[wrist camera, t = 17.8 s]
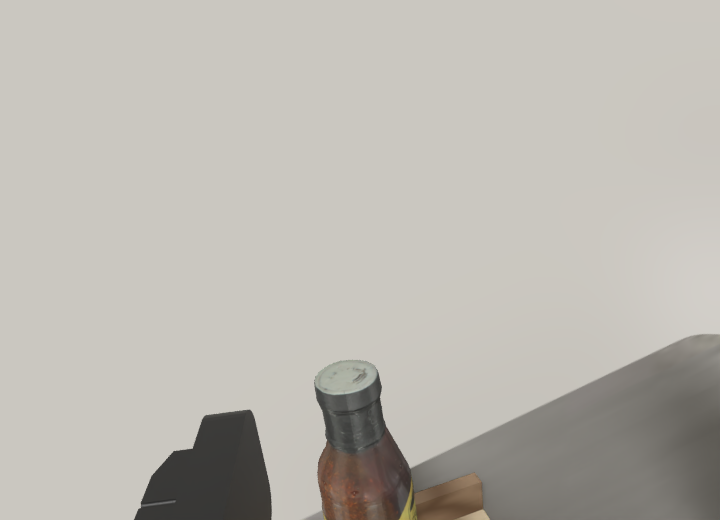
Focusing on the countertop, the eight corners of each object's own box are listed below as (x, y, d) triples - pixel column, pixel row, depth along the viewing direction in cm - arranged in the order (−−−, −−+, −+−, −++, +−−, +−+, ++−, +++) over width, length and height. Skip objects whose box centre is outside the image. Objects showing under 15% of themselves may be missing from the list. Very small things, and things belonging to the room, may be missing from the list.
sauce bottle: (446, 619, 41) (424, 382, 34) (371, 670, 39) (329, 425, 31) (396, 555, 47) (368, 339, 39) (327, 596, 44) (283, 372, 37)
